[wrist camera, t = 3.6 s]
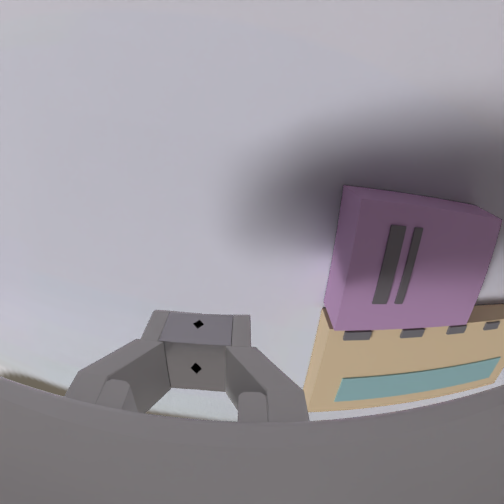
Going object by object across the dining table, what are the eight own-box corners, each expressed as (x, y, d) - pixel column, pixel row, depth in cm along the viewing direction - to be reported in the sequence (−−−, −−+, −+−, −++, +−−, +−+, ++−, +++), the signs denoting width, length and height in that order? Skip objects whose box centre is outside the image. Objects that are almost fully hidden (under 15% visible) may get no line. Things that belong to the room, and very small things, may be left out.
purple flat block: (343, 185, 13) (362, 199, 11) (475, 205, 13) (503, 220, 11) (323, 302, 16) (334, 332, 13) (446, 301, 16) (467, 325, 14)
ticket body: (322, 308, 16) (330, 331, 14) (517, 302, 16) (532, 316, 15) (302, 390, 18) (306, 414, 17) (484, 369, 19) (494, 384, 17)
